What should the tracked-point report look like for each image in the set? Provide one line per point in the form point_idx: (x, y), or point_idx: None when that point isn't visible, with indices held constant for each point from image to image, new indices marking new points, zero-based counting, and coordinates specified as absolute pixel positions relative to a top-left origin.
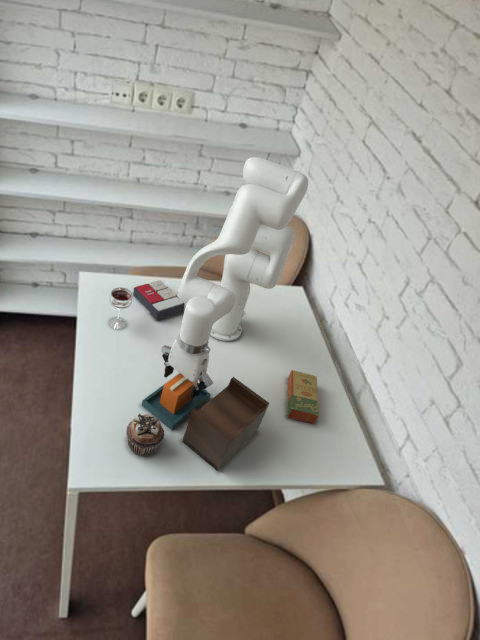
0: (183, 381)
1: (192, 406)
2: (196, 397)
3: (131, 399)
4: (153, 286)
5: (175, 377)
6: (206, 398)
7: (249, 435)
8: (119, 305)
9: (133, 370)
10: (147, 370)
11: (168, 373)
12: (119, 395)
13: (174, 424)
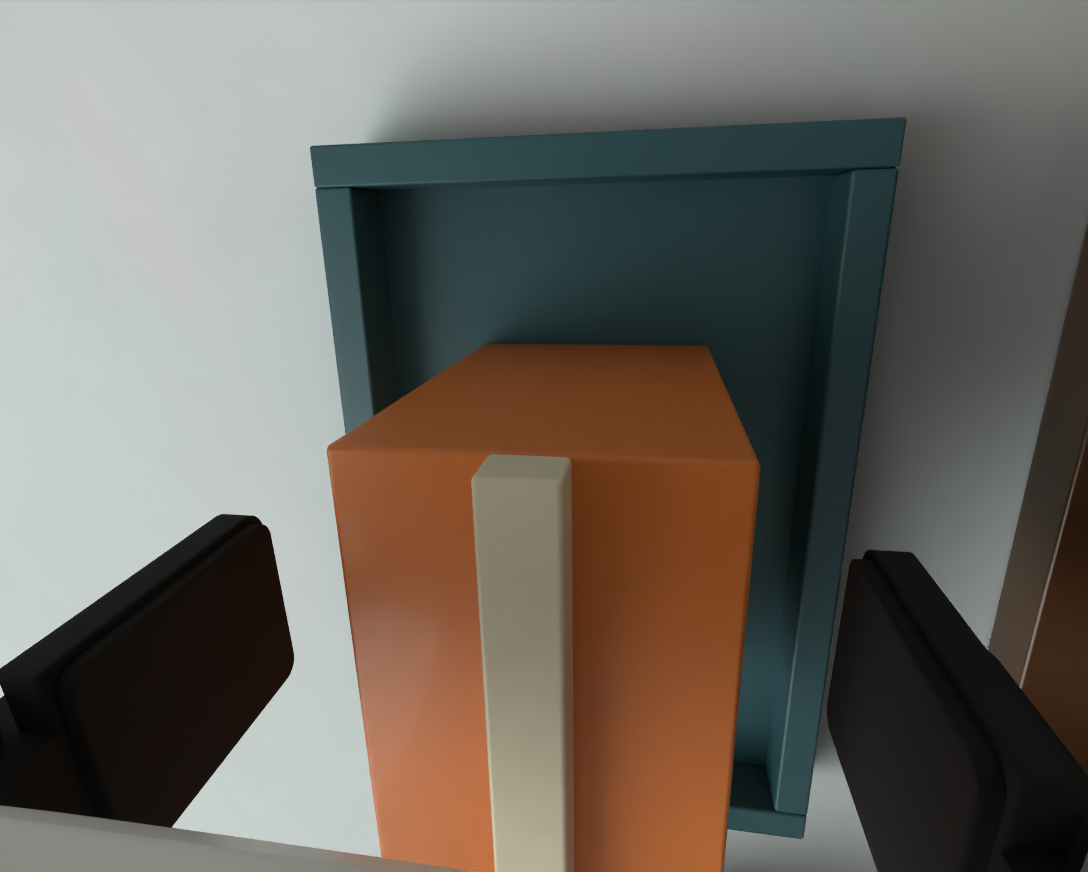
0: (565, 780)
1: (817, 518)
2: (730, 288)
3: (322, 730)
4: None
5: (381, 710)
6: (883, 239)
7: None
8: None
9: (67, 486)
10: (117, 387)
11: (244, 683)
12: (243, 755)
13: (804, 813)
